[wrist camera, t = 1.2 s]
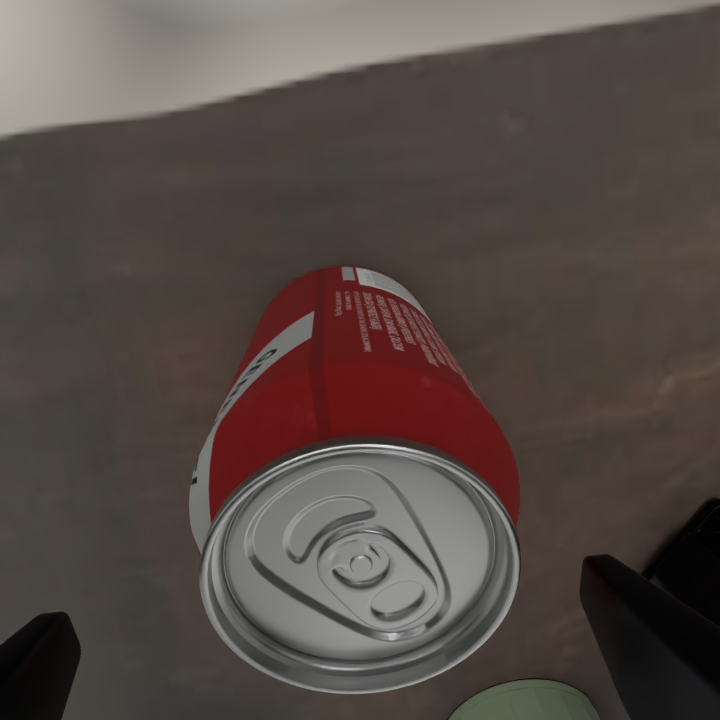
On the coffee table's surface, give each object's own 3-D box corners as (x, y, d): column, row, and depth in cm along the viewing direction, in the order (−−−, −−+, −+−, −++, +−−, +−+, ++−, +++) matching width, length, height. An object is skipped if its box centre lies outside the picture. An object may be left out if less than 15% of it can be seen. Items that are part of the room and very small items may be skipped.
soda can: (359, 223, 18) (408, 316, 7) (461, 359, 20) (625, 599, 9) (221, 334, 19) (69, 568, 8) (331, 451, 21) (332, 763, 10)
